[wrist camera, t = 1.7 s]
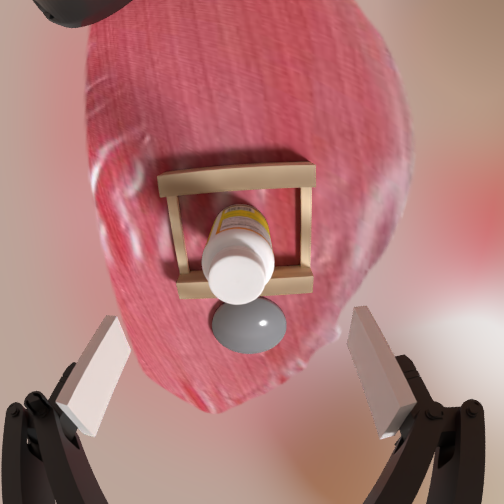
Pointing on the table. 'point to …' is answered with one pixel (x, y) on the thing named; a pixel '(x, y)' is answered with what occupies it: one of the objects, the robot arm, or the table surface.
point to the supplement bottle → (238, 255)
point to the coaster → (249, 326)
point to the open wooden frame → (233, 180)
